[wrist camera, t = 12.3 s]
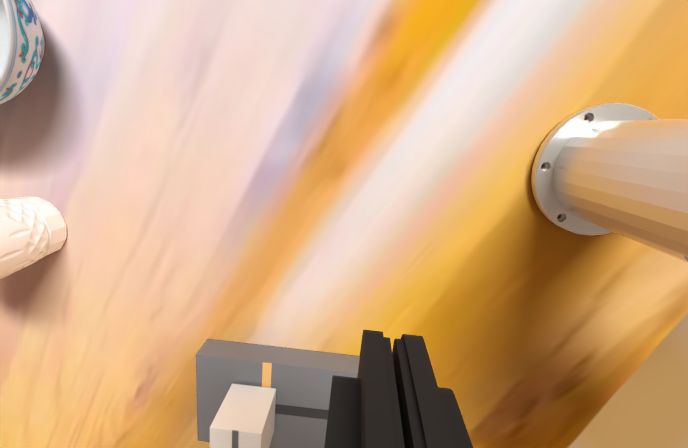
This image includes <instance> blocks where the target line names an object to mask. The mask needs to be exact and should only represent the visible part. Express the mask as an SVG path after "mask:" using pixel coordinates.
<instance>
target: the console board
mask: <svg viewBox="0 0 688 448" xmlns="http://www.w3.org/2000/svg"><path fill="white" fill-rule="evenodd" d="M359 360H360V356H354V355H345V354H336V353H327V352H319V351H310V350H301V349H292V348H283V347H275V346H266V345H257V344H248V343H239V342H231V341H222V340H213V339H207V340H206V342H205V343H204V345H203V346H202V347H201V349H200V350H199V351H198V353H197V354H196V375H197V425H198V441H207V442H210V426H211V424H212V422H213V420H214V418H215V416H216V414H217V412H218V410H219V408H220V406H221V404H222V402H223V401H224V399H225V397H226V395H227V393H228V391H229V389H230V387H231V385H232V384H241V385H249V386H258V387H267V388H275V389H276V404H275V423H274V433H273V437H272V440H271V444H270V447H269V448H324V445H325V437H326V428H327V420H328V411H329V402H330V394H331V385H332V377H333V375H335V376H344V377H353V378H357V375H358V367H359Z"/></svg>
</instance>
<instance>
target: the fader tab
mask: <svg viewBox="0 0 688 448" xmlns="http://www.w3.org/2000/svg"><path fill="white" fill-rule="evenodd" d="M275 404H276V389H275V388H267V387H258V386H249V385H241V384H232V385H231V387H230V389H229V391H228V393H227V395H226V397H225V399H224V401H223V402H222V404H221V406H220V408H219V410H218V412H217V414H216V416H215V418H214V420H213V422H212V424H211V426H210V448H269V447H270V444H271V440H272V437H273V433H274V423H275Z"/></svg>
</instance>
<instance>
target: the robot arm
mask: <svg viewBox="0 0 688 448" xmlns="http://www.w3.org/2000/svg"><path fill="white" fill-rule="evenodd" d="M584 116H585V120H584ZM542 164H543V167H542V168H541V165H542ZM531 184H532V192H533V195H534V198H535V201H536V204H537V205H538V207H539V209H540V210H541V212H542V213H543V214H544V215H545V216H546V217H547V218H548V219H549V220H550V221H551V222H553V223H554V224H556V225H557V226H559V227H561V228H563V229H565V230H567V231H570V232H573V233H576V234H581V235H604V234H608V233H612V232H614V233H617V234H619V235H622V236H624V237H627V238H629V239H632V240H634V241H637V242H639V243H641V244H644V245H646V246H649V247H651V248H654V249H656V250H659V251H661V252H664V253H666V254H669V255H671V256H673V257H676V258H678V259H681V260H683V261H686V262H688V118H679V119H658V118H657V117H656V116H654V115H653V114H652V113H650V112H649V111H648V110H645V109H643V108H641V107H638V106H636V105H631V104H626V103H607V104H599V105H595V106H591V107H588V108H584V109H582V110H580V111H578V112H576V113H574V114H572V115H570V116H569V117H567V118H566V119H564V120H563V121H562V122H560V123H559V124H558V125H557V126H556V127H555V128H554V129H553V130H552V131H551V132H550V133H549V134H548V136H547V137H546V139H545V140H544V141H543V143H542V144H541V146H540V148H539V150H538V152H537V154H536V157H535V160H534V164H533V167H532V176H531ZM558 215H559V216H558ZM324 448H473V446H472V444H471V441H470V438H469V435H468V432H467V429H466V427H465V424H464V421H463V418H462V415H461V412H460V409H459V407H458V404H457V401H456V398H455V395H454V393H453V391H452V390H451V389H448V388H440V387H438V386H437V383H436V379H435V376H434V373H433V369H432V366H431V363H430V359H429V356H428V352H427V349H426V346H425V342H424V339H423V337H422V336H415V335H406V334H403V335H402V337H401V339H395V340H394V345H393V352H392V350H391V343H390V338H386V337H383V332H379V331H370V330H363V336H362V344H361V352H360V360H359V367H358V375H357V378H353V377H344V376H335V375H333V377H332V385H331V394H330V402H329V411H328V420H327V428H326V437H325V445H324Z"/></svg>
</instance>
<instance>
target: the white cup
mask: <svg viewBox="0 0 688 448" xmlns="http://www.w3.org/2000/svg"><path fill="white" fill-rule="evenodd" d="M66 239H67V226H66V223H65V221H64V219H63V217H62V215H61V213H60V212H59V211H58V210H57V209H56V208H55V207H54V206H53V205H52V204H51V203H50V202H48V201H45V200H43V199H41V198H38V197H17V198H11V199H0V279H2V278H5V277H7V276H9V275H11V274H13V273H14V272H16V271H19V270H21V269H23V268H25V267H27V266H29V265H31V264H33V263H35V262H37V261H38V260H39V259H41V258H43V257H46V256H48V255H50V254H52V253H54V252H56V251H57V250H59V249H61V247H62V246H63V244H64V242H65V240H66Z"/></svg>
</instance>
